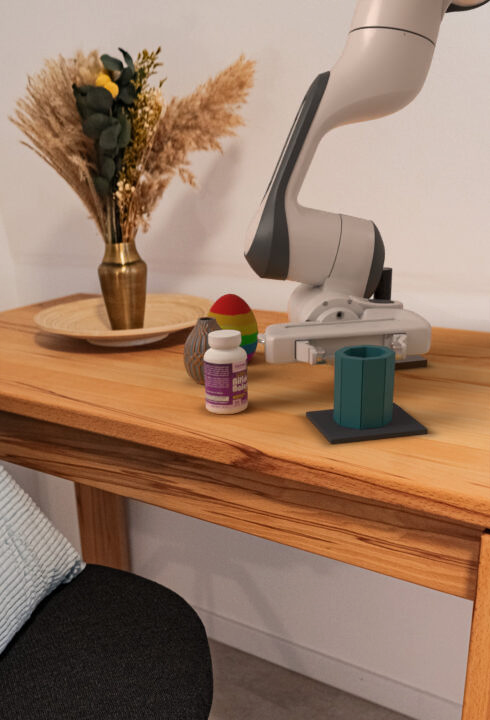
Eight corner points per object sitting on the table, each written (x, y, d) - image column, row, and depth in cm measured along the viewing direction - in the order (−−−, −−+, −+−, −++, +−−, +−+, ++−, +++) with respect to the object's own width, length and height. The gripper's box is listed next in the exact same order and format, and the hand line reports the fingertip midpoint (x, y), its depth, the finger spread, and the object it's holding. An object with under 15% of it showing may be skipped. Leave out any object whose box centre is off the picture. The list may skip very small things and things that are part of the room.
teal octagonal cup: (379, 409, 100) (382, 342, 97) (398, 425, 95) (402, 356, 91) (328, 414, 100) (329, 348, 96) (344, 431, 94) (346, 361, 91)
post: (399, 349, 126) (404, 260, 120) (427, 366, 117) (433, 270, 111) (334, 356, 125) (336, 266, 119) (357, 374, 116) (360, 277, 110)
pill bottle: (242, 416, 103) (240, 338, 99) (201, 414, 105) (197, 338, 101) (252, 402, 108) (250, 327, 104) (212, 401, 109) (209, 327, 105)
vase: (226, 388, 114) (223, 324, 110) (178, 387, 116) (174, 324, 113) (239, 374, 120) (237, 312, 116) (193, 373, 122) (190, 312, 118)
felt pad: (394, 407, 102) (394, 402, 102) (427, 434, 93) (428, 428, 93) (305, 416, 101) (305, 411, 101) (331, 444, 92) (331, 439, 92)
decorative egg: (193, 365, 126) (190, 297, 122) (223, 352, 132) (221, 287, 128) (240, 371, 121) (238, 301, 117) (268, 357, 127) (268, 290, 123)
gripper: (254, 310, 109) (269, 334, 96) (412, 299, 108) (448, 322, 96) (255, 358, 111) (269, 388, 99) (409, 347, 111) (444, 376, 98)
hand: (359, 355), depth 97 cm, fingers open, 8 cm apart
